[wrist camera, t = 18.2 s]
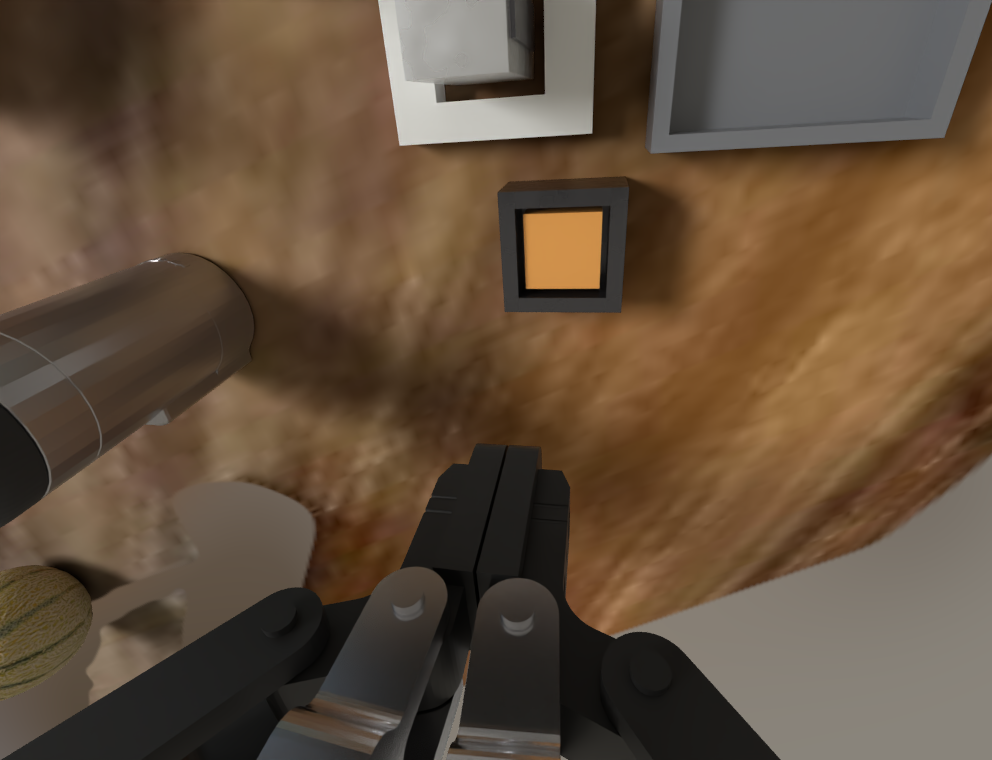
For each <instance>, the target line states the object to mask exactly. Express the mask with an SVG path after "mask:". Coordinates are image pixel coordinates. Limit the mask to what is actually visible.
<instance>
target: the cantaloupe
mask: <svg viewBox="0 0 992 760" xmlns="http://www.w3.org/2000/svg"><path fill="white" fill-rule="evenodd" d="M92 615H93V613H92V605H91V598H90V595H89V593H88V592H87V590H86V589H85V587H84V586H83V585H82V584H81V583H80V582H79V581H78V580H77V579H76V578H74V577H73V576H72V575H70V574H69V573H67V572H65V571H61V570H58V569H56V568H54V567H47V566H39V565H31V566H21V567H16V568H11V569H8V570H3V571H1V572H0V701H2V700H5V699H8V698H10V697H14V696H16V695H18V694H20V693H22V692H25V691H27V690H29V689H31V688H33V687H35V686H37V685H39V684H40V683H42V682H43V681H45V680H47V679H48V678H49V677H51V676H52V675H53V674H55V673H56V672H58V671H59V670H60V669H61V668H62V667H64V666H65V665H66V664H67V663H68V662H69V661H70V659H72V658H73V656H74V655H75V654H76V653H77V652H78V650H79V649H80V647H81V645H82V644H83V643H84V641H85V638H86V636H87V634H88V631H89V629H90V626H91V621H92Z"/></svg>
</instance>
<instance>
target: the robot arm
mask: <svg viewBox="0 0 992 760" xmlns="http://www.w3.org/2000/svg"><path fill="white" fill-rule="evenodd" d="M253 336H254V320H253V315H252V312H251V309H250V306H249V303H248V302H247V300H246V298H245V296H244V294H243V292H242V291H241V290H240V288H239V287H238V286H237V284H236V283H235V282H234V281H233V280H232V279H231V278H230V277H229V276H228V275H227V274H226V273H225V272H224V271H223V270H221V269H220V268H219V267H217V266H216V265H215V264H213V263H211V262H209V261H207V260H205V259H203V258H201V257H198V256H195V255H192V254H187V253H172V254H167V255H164V256H161V257H159V258H156V259H153V260H152V259H151V260H148V261H145V262H143V263H140V264H139V265H136V266H134V267H131V268H128V269H125V270H122V271H120V272H117V273H114V274H111V275H109V276H106V277H103V278H100V279H98V280H95V281H92V282H89V283H87V284H84V285H81V286H78V287H75V288H73V289H70V290H67V291H64V292H62V293H59V294H56V295H53V296H51V297H48V298H45V299H42V300H40V301H37V302H34V303H31V304H29V305H26V306H23V307H20V308H18V309H15V310H12V311H9V312H7V313H4V314H1V315H0V528H1V527H2V526H4V525H6V524H7V523H9V522H10V521H12V520H13V519H15V518H16V517H18V516H19V515H20V514H22V513H23V512H25V511H26V510H27V509H29V508H30V507H31V506H33V505H34V504H36V503H37V502H38V501H40V500H41V499H42V498H44V497H45V496H47V495H48V494H49V493H51V492H52V491H53V490H55V489H56V488H58V487H59V486H60V485H62V484H63V483H65V482H66V481H67V480H69V479H70V478H72V477H73V476H74V475H76V474H77V473H78V472H80V471H81V470H83V469H84V468H85V467H87V466H88V465H90V464H91V463H92V462H93V461H95V460H96V459H98V458H99V457H100V456H102V455H103V454H105V453H106V452H107V451H109V450H110V449H112V448H113V447H114V446H116V445H117V444H118V443H120V442H121V441H123V440H124V439H125V438H127V437H128V436H130V435H131V434H132V433H134V432H135V431H137V430H138V429H139V428H141V427H142V426H143V425H166V424H168V423H170V422H171V421H173V420H174V419H175V418H177V417H178V416H179V415H181V414H182V413H183V412H185V411H186V410H187V409H189V408H190V407H191V406H192V405H194V404H195V403H196V402H198V401H199V400H200V399H202V398H203V397H204V396H206V395H207V394H208V393H210V392H211V391H212V390H214V389H215V388H216V387H218V386H219V385H220V384H222V383H223V382H224V381H225V380H227V379H228V378H229V377H231V376H232V375H233V374H235V373H236V372H237V371H239V370H240V369H241V368H243V367H244V366H245V365H247V364H248V363H249V362H251V360H252V358H251V356H250V352H249V348H250V345H251V342H252V339H253ZM569 529H570V486H569V484H568V482H567V480H566V478H565V476H564V474H563V472H562V471H559V470H544V469H542V456H541V447H533V446H516V445H509V447H508V445H496V444H479V443H478V444H476V446H475V448H474V451H473V453H472V456H471V459H470V462H469V465H467V464H453V465H451V466H450V467H449V468H448V469H447V470H446V471H445V472H444V473H443V474H442V475H441V476H440V477H439V478H438V481H437V483H436V485H435V488H434V490H433V493H432V497H431V498H430V500H429V502H428V504H427V507H426V512H425V513H424V514H423V516H422V519H421V521H420V524H419V526H418V528H417V531H416V533H415V535H414V538H413V540H412V543H411V545H410V547H409V550H408V552H407V554H406V557H405V559H404V562H403V564H402V566H401V568H400V570H397V571H395V572H393V573H391V574H390V575H388V576H387V577H385V578H384V579H383V580H382V581H381V582H380V583H379V584H378V585H377V586H376V588H375V589H374V591H373V592H372V594H371V595H369V596H366V597H364V598H360V599H356V600H351V601H345V602H340V603H335V604H329V605H324V606H323V605H322V602H321V600H320V598H319V597H318V596H317V594H316V593H314V592H313V591H311V590H309V589H306V588H288V589H284V590H280V591H278V592H276V593H273V594H271V595H270V596H268V597H266V598H264V599H263V600H261V601H259V602H258V603H256V604H255V605H253V606H252V607H250V608H248V609H246V610H245V611H243V612H241V613H240V614H238V615H237V616H235V617H233V618H232V619H230V620H229V621H227V622H225V623H224V624H222V625H220V626H219V627H217V628H216V629H214V630H212V631H211V632H209V633H207V634H206V635H204V636H202V637H201V638H199V639H197V640H196V641H194V642H193V643H191V644H189V645H188V646H186V647H184V648H183V649H181V650H180V651H178V652H176V653H175V654H173V655H171V656H170V657H168V658H166V659H165V660H163V661H162V662H160V663H158V664H157V665H155V666H153V667H152V668H150V669H149V670H147V671H145V672H144V673H142V674H140V675H139V676H137V677H135V678H134V679H132V680H131V681H129V682H127V683H126V684H124V685H122V686H121V687H119V688H118V689H116V690H114V691H113V692H111V693H109V694H108V695H106V696H105V697H103V698H101V699H100V700H98V701H96V702H95V703H93V704H91V705H90V706H88V707H87V708H85V709H83V710H82V711H80V712H78V713H77V714H75V715H74V716H72V717H70V718H69V719H67V720H65V721H64V722H62V723H61V724H59V725H57V726H56V727H54V728H52V729H51V730H49V731H48V732H46V733H44V734H43V735H41V736H39V737H38V738H36V739H34V740H33V741H31V742H29V743H28V744H26V745H25V746H23V747H22V748H20V749H18V750H17V751H15V752H13V753H12V754H10V755H8V756H7V757H5V758H3V759H2V760H442V758H443V754H444V751H445V748H446V744H447V741H448V738H449V734H450V731H451V728H452V725H453V721H454V718H455V714H456V711H457V708H458V705H459V701H460V698H461V695H462V690H463V678H462V677H463V673H464V668H465V664H466V660H467V655H468V651H469V650H471V653H470V659H469V666H468V672H467V679H466V685H465V692H464V698H463V705H462V712H461V718H460V724H459V730H458V734H457V737H456V740H455V741H454V742H452V744H451V745H450V748H449V751H448V754H447V758H446V760H560V755H561V756H563V757H565V758H566V759H568V760H780V759H779V758H778V756H776V754H775V753H774V752H773V751H772V750H771V749H770V748H769V746H768V745H767V744H766V743H765V742H764V741H763V740H762V739H761V738H760V737H759V735H758V734H757V733H756V732H755V731H754V730H753V729H752V728H751V727H750V725H749V724H748V723H747V722H746V721H745V720H744V719H743V718H742V717H741V715H740V714H739V713H738V712H737V711H736V710H735V709H734V708H733V707H732V705H731V704H730V703H729V702H728V701H727V700H726V699H725V698H724V697H723V696H722V694H721V693H720V692H719V691H718V690H717V689H716V688H715V687H714V685H713V684H712V683H711V682H710V681H709V680H708V679H707V678H706V677H705V676H704V674H703V673H702V672H701V671H700V670H699V669H698V668H697V667H696V666H695V664H693V662H692V661H691V660H690V659H689V658H688V657H687V656H686V654H685V653H684V652H683V651H682V650H680V649H679V648H678V647H677V646H676V645H675V644H673V643H672V642H670V641H669V640H667V639H665V638H663V637H661V636H658V635H655V634H651V633H647V632H632V633H628V634H625V635H623V636H621V637H618V638H617V639H615V638H613V637H611V636H609V635H606V634H604V633H602V632H600V631H598V630H596V629H594V628H592V627H590V626H588V625H587V624H585V623H584V622H583V621H581V620H580V619H579V618H578V617H577V616H576V615H575V614H574V612H573V611H572V610H571V609H570V607H569V605H568V603H567V601H566V598H565V596H566V580H567V565H568V550H569Z"/></svg>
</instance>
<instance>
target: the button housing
mask: <svg viewBox="0 0 992 760" xmlns="http://www.w3.org/2000/svg"><path fill="white" fill-rule="evenodd" d="M628 197H629V185H628V182H627V180H626V177H603V178H581V179H560V180H538V181H516V182H508V183H507V184H506V185H505V186H504V187H503V188H502V189H501V190H500V191H499V192H498V208H499V224H500V241H501V257H502V274H503V290H504V307H505V312H619V313H621V304H622V289H623V274H624V258H625V243H626V228H627V212H628ZM585 206H602V210H603V213H602V238H601V262H600V287H599V289H526V278H525V251H524V224H523V214H524V212H525V211H526V209H528V208H557V207H585Z"/></svg>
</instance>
